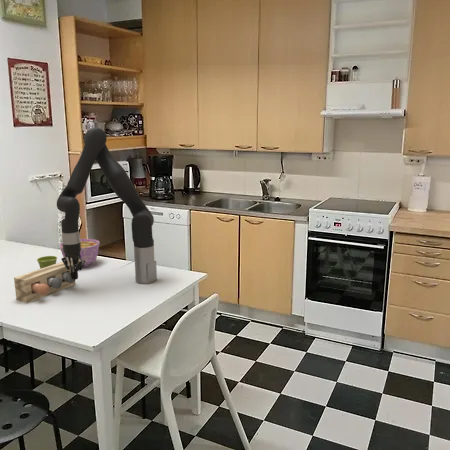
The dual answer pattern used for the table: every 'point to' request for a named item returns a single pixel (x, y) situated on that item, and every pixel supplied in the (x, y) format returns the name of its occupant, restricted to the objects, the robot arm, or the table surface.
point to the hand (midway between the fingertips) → (74, 279)
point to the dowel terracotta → (40, 288)
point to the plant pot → (46, 261)
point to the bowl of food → (87, 250)
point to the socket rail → (39, 282)
